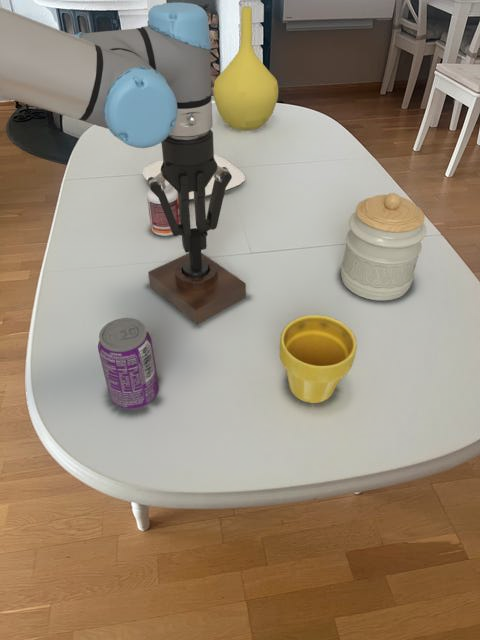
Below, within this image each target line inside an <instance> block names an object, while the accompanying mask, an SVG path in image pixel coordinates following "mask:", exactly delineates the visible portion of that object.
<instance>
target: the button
mask: <svg viewBox="0 0 480 640" xmlns="http://www.w3.org/2000/svg"><path fill="white" fill-rule="evenodd" d="M208 273H209V271H208V264H207V262H205V261H204V260H202V269H197V270H193V267H192V265H191V263H190V260H189V261H187V262H185V263H184V265H183V274H184V275H185V276H186V277H190V278H200V277H203V276H205V275H207V274H208Z"/></svg>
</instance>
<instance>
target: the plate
mask: <svg viewBox="0 0 480 640" xmlns="http://www.w3.org/2000/svg"><path fill="white" fill-rule="evenodd" d="M214 159H215V161H216V163H217V166H219V167H221V168H222V167H226V168H227V169H228V171H229V172H230V174H231V175H232V178H231V180H230V182H229V183H228V185H227V187H226V189H225V192H227V191H229V190H232V189H235V188H237V187H239V186H241V185H242V184H243V183H244V182H245V181H246V178H245V174H244V173H243V171H241V170H240V169H239V168H237V167H236V166H235V165H234V164H233V163H231V162H229V161H228V160H227V159H226V158H224V157H222V156H220V155H218V154H217V153H214ZM162 164H163V159H162V160H158V161H155V162H152V163H150V164H148V165H147V166H145V167H143V169H142V176H143V178H144V179H145V181H146V182H148V179H149V178H150V177H155V176H157V175H158V174H160V173H161V166H162ZM214 180H215V178H214V175H213V177H212V178H211V180H210V181H209V183H208V185H207V186H206V187H205V198H206V197H209V196H210V197H211V194H212V189H213V184H214ZM173 188H174V187H173ZM176 191H177V190H176ZM192 200H193V201H194V191H192V192H189V201H192Z"/></svg>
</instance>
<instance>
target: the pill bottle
mask: <svg viewBox="0 0 480 640" xmlns="http://www.w3.org/2000/svg"><path fill="white" fill-rule="evenodd" d="M155 177H156V176H155ZM155 177H154V178H155ZM165 185H166V188H165V190H164V192H165V195H166V197H167V199H168V202H169V205H170V207H171V210H172V212H173V215H174V218H175V220H176V223H177V224H180V215H179V203H178V193H177V191H176V190H175V189H174V188H173V186H172V185H171V184H170V183H169V182H168V181H167V180H165ZM148 187H149V190H148V191H147V194H146V198H147V199H146V200H147V207H148V215H149V223H150V229H151V231H152V232H153V233H154V234H155V235H157V236H161V237H169V236H174V235H173V233H172V231H171V228H170V226H169V223H168V221H167V218H166V216H165V213H164V211H163V208H162V206H161V203H160V201H159V198H158V197H157V196H156V195H155V194H154V193H153V192H152V191H151V189H150V186H149V185H148Z"/></svg>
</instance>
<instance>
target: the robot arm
mask: <svg viewBox="0 0 480 640" xmlns="http://www.w3.org/2000/svg"><path fill="white" fill-rule="evenodd" d="M147 13H148V16H147V17H148V20H147V21H146V24H147V25H144V26H141V27H137V28H129V29H128V28H127V29H117V30H105V31H95V32H84V31H80V32H78V33H76V34H70V33H69V32H66V31H63V30H61V29H58V28H55V27H52V26H50V25H47V24H46V23H43V22H41V21H38V20H35V19H32V18H29V17H27V16H25V15H23V14H20V13H17V12H15V11H12V10H9V9H7V8H4V7H1V6H0V97H1V98H5V99H9V100H12V101H15V102H19V103H21V104H24V105H28V106H32V107H35V108H38V109H42V110H44V111H49V112H52V113H55V114H59V115H62V116H66V117H68V118H71V119H75V120H78V121H82V122H85V123H87V124H91V125H94V126H97V127H101V128H103V129H107V130H108V131H109V132H110V133H111V134H112V135H113V136H114V137H115V138H117V139H118V140H120V141H121V142H122V143H124V144H125V145H127V146H129V147H132V148H137V149H147V148H152V147H155V146H157V145H159V144H161V150H162V151H161V153H162V160H163V164H162V166H161V173H160V174H158V175H157V176H156V177H155V178H154V177H150V178H149V179H148V181H147V184H148V187H149V186H150V187H149V190H150V189H151V191H152V192H153V193H154V194H155V195H156V196H157V197H158V198H159V201H160V203H161V206H162V208H163V211H164V213H165V216H166V218H167V221H168V223H169V226H170V228H171V231H172V233H173V235H172V236H174V237H178V236H181V241H182V243H181V244H182V247H183V250H184V252H185V254H188V253H189V255H190V263H191V265H192V267H193V270H197V269H202V260H201V253H202V250H206V249H207V246H208V245H207V236H208V235H209V233H208V232H209V231H211V230H212V231H213V230H214V231H215V230H216V229H217V227H218V224H219V220H220V215H221V210H222V206H223V203H224V202H223V201H224V197H225V193H226V191H225V189H226V187H227V185H228V183H229V182H230V180H231V178H232V175H231V174H230V172H229V171H228V169H227V168H226V167H222V168H221V167H219V166H217V163H216V161H215V159H214V154H215V152H214V151H215V150H214V149H215V148H214V147H215V145H214V132H213V130H212V128H213V125H214V123H213V121H214V120H213V104H212V100H213V99H212V65H211V64H212V63H211V62H212V61H211V57H212V56H211V55H212V54H211V51H212V44H211V36H210V35H211V34H210V26H209V17H208V14H207V12H206V11H205V9H204V8H203V7H202V6H199V5H198V4H195V3H190V2H164V3H162V4H156V5H153V6H152V7H150V9H149V10H148V12H147ZM213 175H214V178H215V180H214V184H213V189H212V194H211V195H210V199H209V203H208V209H207V210H206V197H205V187H206V186H207V185H208V183H209V181H210V180H211V178H212V177H213ZM165 180H167V181H168V182H169V183H170V184H171V185H172V186H173V187H174V189H175V190H177V193H178V203H179V215H180V224H177V223H176V220H175V218H174V215H173V212H172V210H171V207H170V205H169V202H168V199H167V197H166V195H165V192H164V190H165V188H166V185H165ZM192 191H194V199H193V201H194V202H193V203H194V217H195V226H196V227H193V228H191V227H192V226H191V213H190V200H189V192H192ZM206 211H207V213H206Z"/></svg>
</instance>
